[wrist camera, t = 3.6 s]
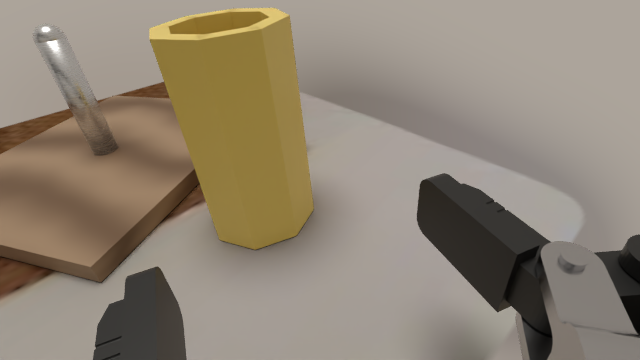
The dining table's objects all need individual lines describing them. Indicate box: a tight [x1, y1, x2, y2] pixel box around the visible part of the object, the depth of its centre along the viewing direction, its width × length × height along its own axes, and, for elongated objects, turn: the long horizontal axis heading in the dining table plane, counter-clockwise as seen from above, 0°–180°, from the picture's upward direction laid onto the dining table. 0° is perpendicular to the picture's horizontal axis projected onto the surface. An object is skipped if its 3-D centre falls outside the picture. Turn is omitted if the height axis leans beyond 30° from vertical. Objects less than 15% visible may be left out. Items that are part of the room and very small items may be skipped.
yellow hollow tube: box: [150, 8, 314, 250], centre depth 19 cm, size 6×6×11 cm
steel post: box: [33, 24, 118, 156], centre depth 25 cm, size 2×2×10 cm
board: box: [0, 96, 199, 282], centre depth 28 cm, size 20×18×1 cm
